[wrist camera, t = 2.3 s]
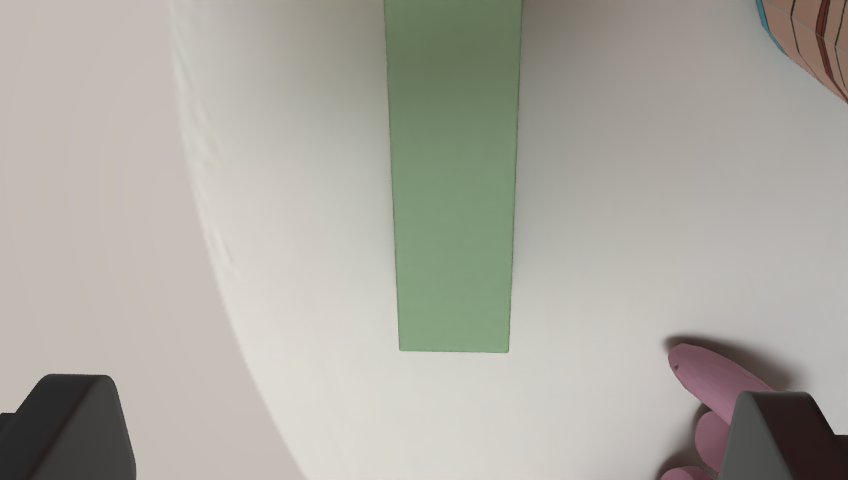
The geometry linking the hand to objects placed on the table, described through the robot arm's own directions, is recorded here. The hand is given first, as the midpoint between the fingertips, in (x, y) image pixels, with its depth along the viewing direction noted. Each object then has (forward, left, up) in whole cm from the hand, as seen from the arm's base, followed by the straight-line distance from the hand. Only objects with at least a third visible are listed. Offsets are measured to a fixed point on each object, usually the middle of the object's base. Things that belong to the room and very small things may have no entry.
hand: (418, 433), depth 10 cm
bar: (+1, 0, -16) cm, 16 cm away
